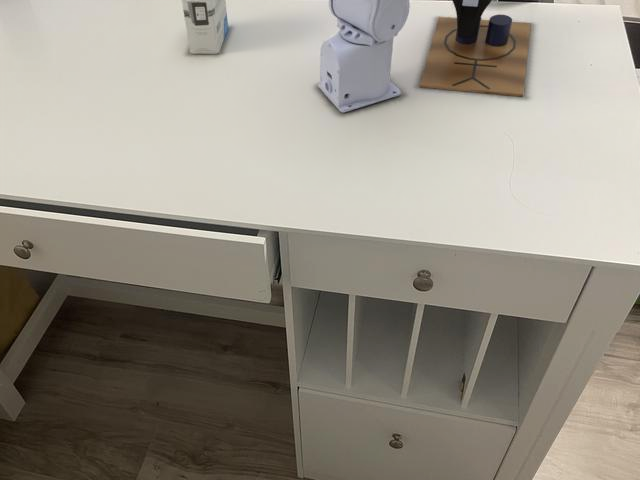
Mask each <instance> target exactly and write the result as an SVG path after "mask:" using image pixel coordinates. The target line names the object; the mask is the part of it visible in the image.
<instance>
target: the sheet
mask: <svg viewBox="0 0 640 480" xmlns="http://www.w3.org/2000/svg"><path fill="white" fill-rule="evenodd" d="M488 24H489V19H488V20H487V19H481V22H480V27H479V32H478V38H477V41H476V42H475V43H472V44H461V43H459V42H457V41H456V39H455V38H456V32H457V17H444V16H438V18H437V21H436V25H435V29H434V34H433V36H432V39H431V43H430V47H429V50H428V53H427V58H426V61H425V65H424V68H423V72H422V75H421V79H420V82H419V88H426V89H427V88H428V89H436V90H446V91H456V92H457V91H458V92H470V93H479V94H489V95H491V94H492V95H500V96H511V97H521V98H523V97H524V92H525V84H526V82H525V81H526V74H527V65H528V57H529V56H528V55H529V54H528V53H529V46H530V38H531V37H530V36H531V28H532V27H531V26H532V23H531V22H519V21H512V24H511V29H510V33H509V37H508V42H507V44H506V45H504V46H499V47H495V46H490V45H488V44H487V43H486V42H485V39H486V34H487V29H488Z"/></svg>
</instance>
